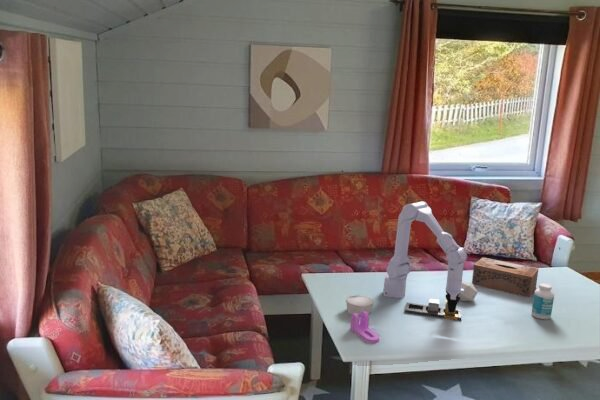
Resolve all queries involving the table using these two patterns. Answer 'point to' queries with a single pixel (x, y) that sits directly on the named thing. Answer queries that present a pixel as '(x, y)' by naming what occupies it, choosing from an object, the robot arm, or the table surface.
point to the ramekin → (359, 304)
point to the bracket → (363, 327)
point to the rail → (423, 310)
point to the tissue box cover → (505, 276)
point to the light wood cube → (448, 311)
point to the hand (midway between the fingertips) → (451, 309)
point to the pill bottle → (543, 301)
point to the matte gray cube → (433, 305)
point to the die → (467, 292)
